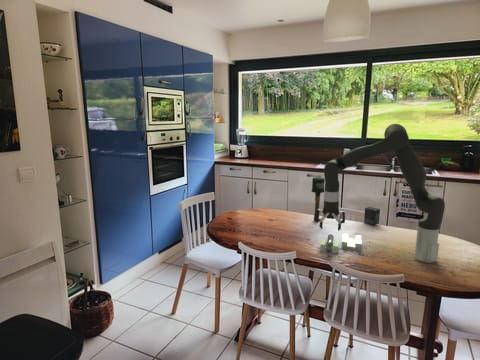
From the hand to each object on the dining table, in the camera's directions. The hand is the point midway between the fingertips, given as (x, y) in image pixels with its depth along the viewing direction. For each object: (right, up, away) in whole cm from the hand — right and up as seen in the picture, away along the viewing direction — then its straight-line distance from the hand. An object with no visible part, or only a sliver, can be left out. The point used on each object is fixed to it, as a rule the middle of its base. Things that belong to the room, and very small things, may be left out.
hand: (330, 229), depth 167 cm
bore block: (+16, -11, +13) cm, 23 cm away
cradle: (+2, -12, +9) cm, 15 cm away
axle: (+3, -10, +8) cm, 13 cm away
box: (+41, -4, +49) cm, 64 cm away
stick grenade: (+6, -3, +53) cm, 54 cm away
